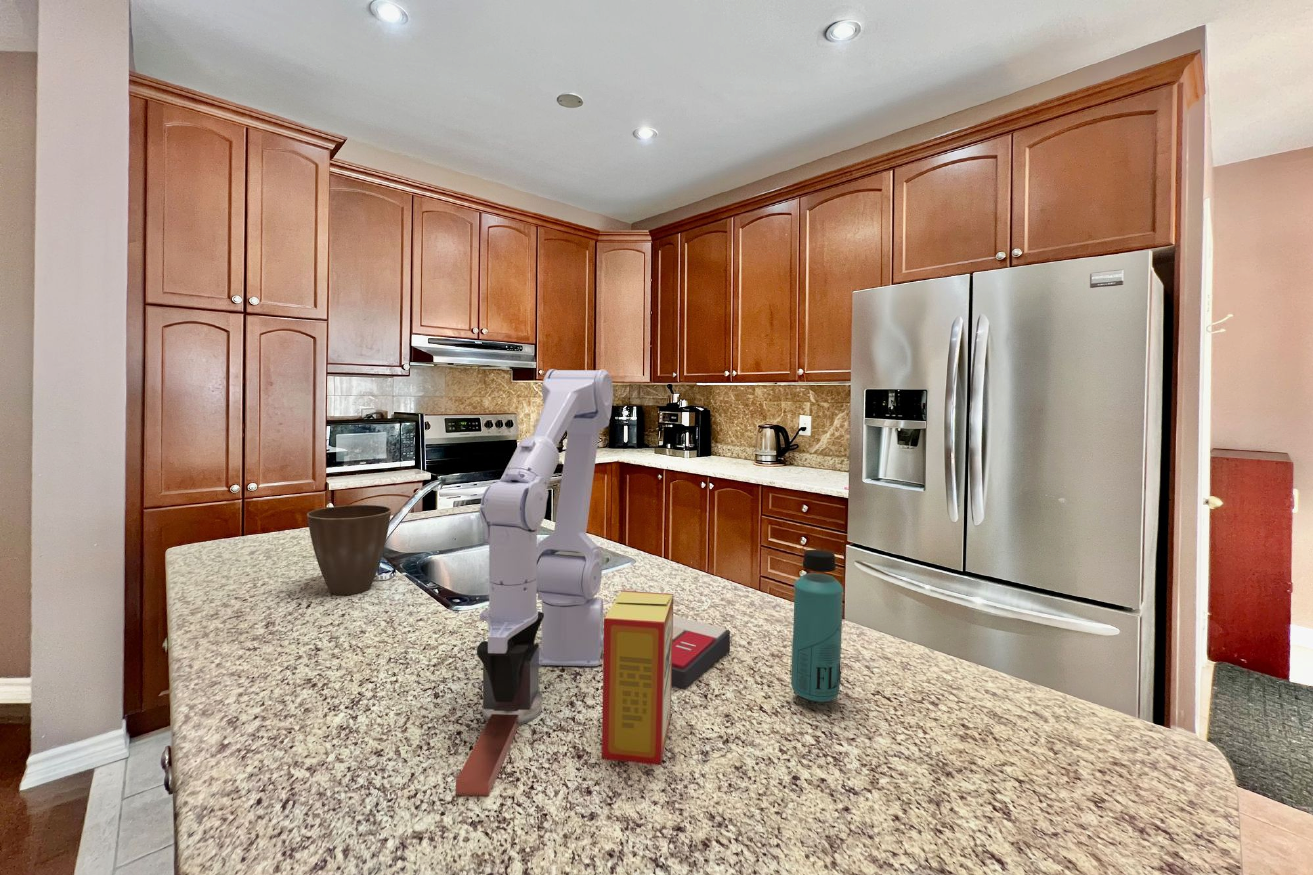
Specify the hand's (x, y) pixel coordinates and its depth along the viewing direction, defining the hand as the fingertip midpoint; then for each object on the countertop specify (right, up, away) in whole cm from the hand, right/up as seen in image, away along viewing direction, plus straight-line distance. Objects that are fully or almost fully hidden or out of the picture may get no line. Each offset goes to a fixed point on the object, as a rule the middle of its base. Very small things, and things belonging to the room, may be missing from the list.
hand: (512, 684), depth 72 cm
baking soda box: (+16, -4, -5) cm, 17 cm away
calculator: (+21, -3, +15) cm, 26 cm away
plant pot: (-44, 0, +44) cm, 62 cm away
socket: (0, -2, 0) cm, 2 cm away
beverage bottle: (+39, -4, +4) cm, 39 cm away
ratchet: (0, -4, -6) cm, 7 cm away
